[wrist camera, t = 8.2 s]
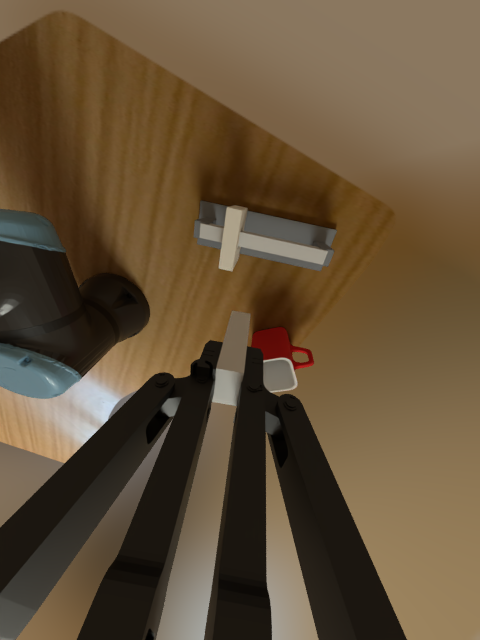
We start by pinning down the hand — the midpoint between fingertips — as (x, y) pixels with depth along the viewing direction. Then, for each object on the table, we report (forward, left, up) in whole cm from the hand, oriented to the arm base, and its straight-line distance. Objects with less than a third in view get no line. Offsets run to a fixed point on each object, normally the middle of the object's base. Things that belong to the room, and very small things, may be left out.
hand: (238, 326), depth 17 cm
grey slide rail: (+1, +3, -25) cm, 25 cm away
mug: (+10, -18, -25) cm, 32 cm away
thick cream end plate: (-4, +3, -23) cm, 24 cm away
